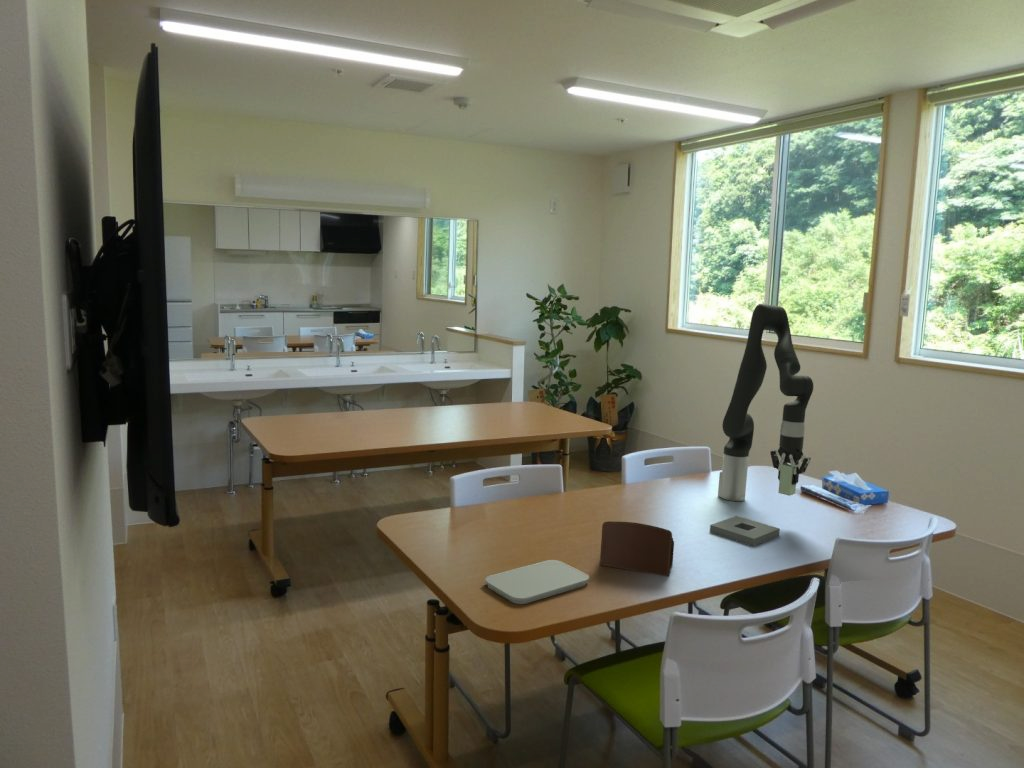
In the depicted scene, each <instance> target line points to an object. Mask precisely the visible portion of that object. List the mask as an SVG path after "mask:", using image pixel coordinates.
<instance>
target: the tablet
mask: <svg viewBox="0 0 1024 768" xmlns="http://www.w3.org/2000/svg"><path fill="white" fill-rule="evenodd" d="M484 581H485V584H486V585H487V587H488V589H490V590H491V591H493V592H495V593H496V594H498V595H499V596H501V597H503V598H505V599H507V600H508V601H510V602H511V603H512V604H516V605H525V604H530V603H533V602H536V601H539V600H542V599H545V598H548V597H551V596H556V595H559V594H562V593H565V592H569V591H572V590H575V589H579V588H581V587H585V586H586V585H587V582H589V581H590V575H588V574H587V573H585V571H584V572H583V571H582V570H579V569H577V568H575V567H573V566H571V565H569V564H567V563H565V562H563V561H561V560H556V559H547V560H543V561H540V562H537V563H532V564H528V565H524V566H521V567H517V568H513V569H509V570H506V571H502V572H499V573H494V574H491V575H488V576H486V577H485V579H484Z"/></svg>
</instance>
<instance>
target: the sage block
mask: <svg viewBox="0 0 1024 768" xmlns="http://www.w3.org/2000/svg"><path fill="white" fill-rule="evenodd" d="M792 476H793V467H791V464H790V463H787V464H783V465H782V464H781V470H780V481H779V480H778V483H779V484H778V494H780V495H785V496H789V497H791V496H793V495H795V494H796V489H797V488H796V487H797V484H796V485H792Z"/></svg>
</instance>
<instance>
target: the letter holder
mask: <svg viewBox="0 0 1024 768" xmlns="http://www.w3.org/2000/svg"><path fill="white" fill-rule="evenodd" d="M600 540H601V541H600V557H599V566H601V567H607V568H613V569H621V570H625V571H626V570H627V571H631V572H639V573H644V574H649V575H650V574H652V575H658V576H662V577H663V576H664V577H669V576H670V574H671V571H672V568H673V563H674V551H675V550H674V548H675V541H674V538H673V533H672V531H670V529H669V530H668V529H666V528H662V527H658V526H655V525H650V524H646V523H640V522H632V521H611V520H610V521H609V520H608V521H604V522H603V523H602V527H601V539H600Z"/></svg>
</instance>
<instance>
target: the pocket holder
mask: <svg viewBox="0 0 1024 768" xmlns="http://www.w3.org/2000/svg"><path fill="white" fill-rule="evenodd" d="M780 530H781V529H780V528H779V527H775V526H773V525H770V524H769V525H768V524H765V523H763V522H759V521H756V520H752V519H749V518H746V517H742V516H738V515H734V516H732V517H728V518H726V519H723V520H720V521H718V522H714V523H711V524H710V525H709V533H712V534H715V535H718V536H720V535H721V536H720V537H723V536H724V537H723V538H726V537H727V539H729V538H730V539H729V540H733V541H736V540H737V541H736V542H739V541H740V542H739V543H742V542H743V543H742V544H745V543H746V544H745V545H748V544H749V546H751V545H752V546H751V547H755V546H757V544H758V545H760V544H762V542H763V543H765V542H767V540H768V541H770V540H772V538H773V539H775V538H777V536H778V537H780V533H781V532H780ZM764 541H765V542H764ZM759 543H760V544H759ZM754 545H755V546H754Z"/></svg>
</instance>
